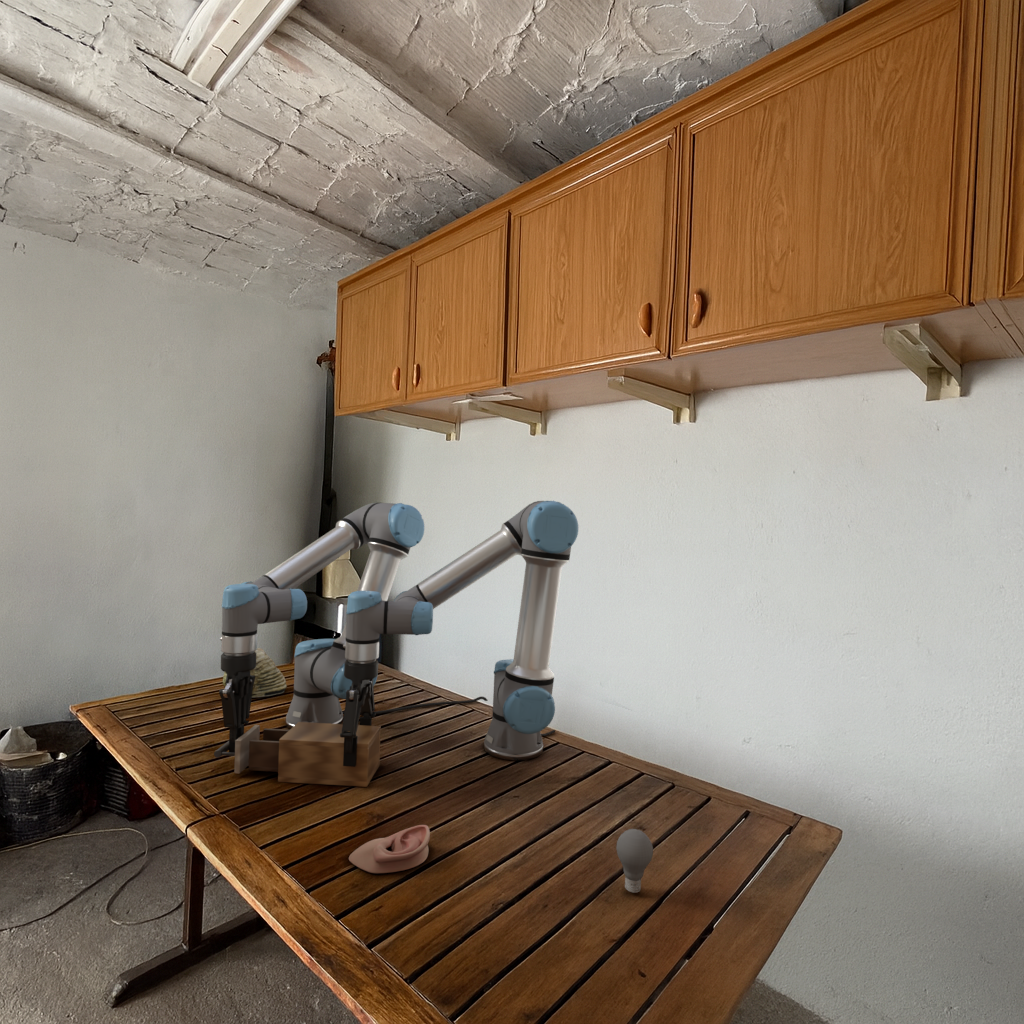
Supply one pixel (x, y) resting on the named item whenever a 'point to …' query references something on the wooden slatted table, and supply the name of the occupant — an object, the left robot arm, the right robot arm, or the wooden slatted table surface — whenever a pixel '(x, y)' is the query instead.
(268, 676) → the fossil
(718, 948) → the wooden slatted table surface
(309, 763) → the cabinet
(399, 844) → the anatomical model
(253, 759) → the drawer
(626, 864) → the light bulb
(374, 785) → the wooden slatted table surface
